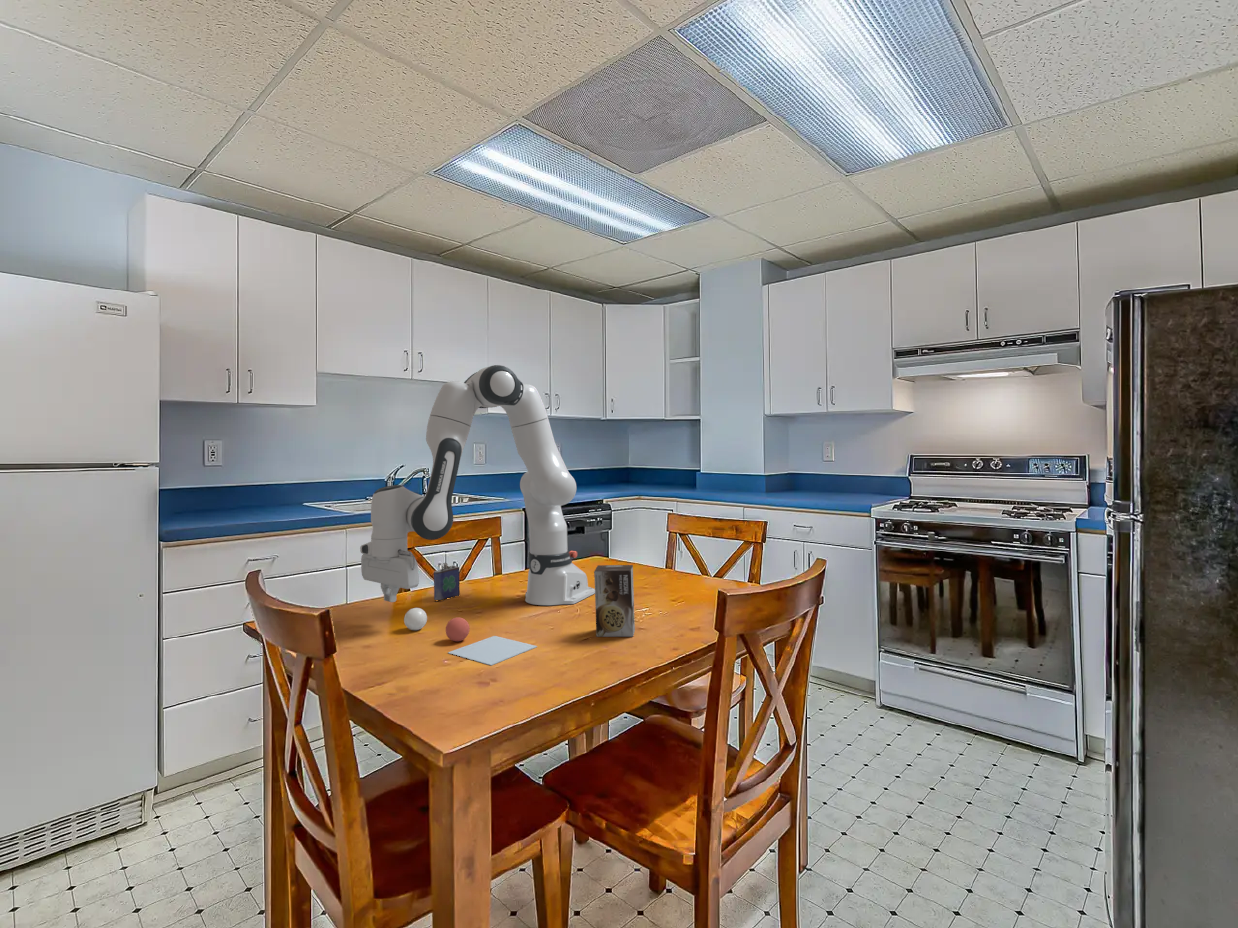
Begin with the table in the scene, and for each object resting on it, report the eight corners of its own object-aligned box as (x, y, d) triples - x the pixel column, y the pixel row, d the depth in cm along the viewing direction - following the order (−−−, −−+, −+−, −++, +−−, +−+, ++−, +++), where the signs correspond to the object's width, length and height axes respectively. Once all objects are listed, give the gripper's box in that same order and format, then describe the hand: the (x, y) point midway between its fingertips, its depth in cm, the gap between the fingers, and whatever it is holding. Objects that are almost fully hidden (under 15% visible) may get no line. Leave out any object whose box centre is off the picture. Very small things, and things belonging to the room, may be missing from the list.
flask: (438, 602, 185) (436, 566, 185) (431, 601, 187) (430, 565, 187) (462, 595, 193) (461, 560, 193) (455, 594, 195) (454, 559, 194)
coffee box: (635, 629, 156) (634, 564, 155) (633, 637, 149) (632, 569, 149) (598, 628, 157) (597, 564, 156) (595, 636, 150) (593, 569, 150)
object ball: (459, 635, 153) (458, 613, 153) (474, 639, 150) (474, 616, 150) (441, 641, 149) (440, 618, 148) (456, 646, 145) (455, 622, 145)
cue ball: (418, 625, 163) (417, 604, 162) (431, 628, 159) (431, 607, 159) (399, 630, 158) (399, 609, 158) (413, 634, 155) (412, 612, 155)
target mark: (494, 636, 152) (494, 635, 152) (537, 646, 144) (537, 645, 144) (447, 653, 141) (447, 652, 141) (491, 665, 132) (491, 664, 132)
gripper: (424, 550, 160) (425, 604, 160) (377, 542, 172) (378, 593, 172) (403, 553, 155) (404, 609, 155) (356, 546, 167) (357, 597, 167)
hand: (390, 601), depth 164 cm, fingers closed
